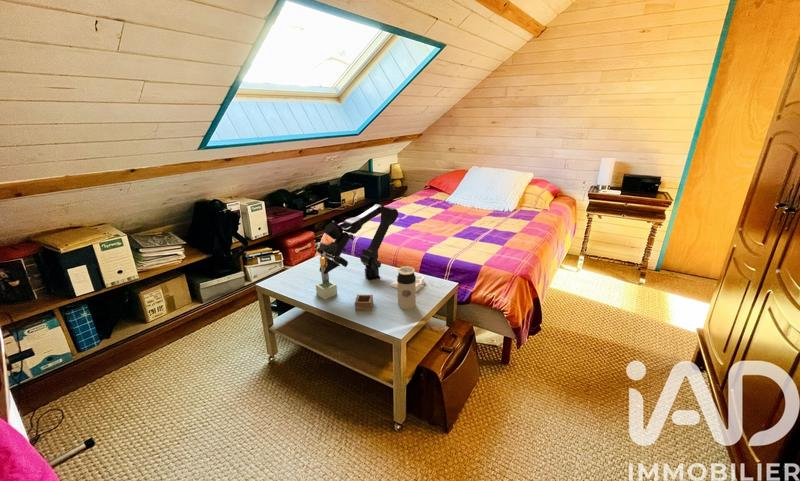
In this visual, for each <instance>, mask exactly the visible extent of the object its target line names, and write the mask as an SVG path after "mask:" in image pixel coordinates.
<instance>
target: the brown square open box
mask: <svg viewBox="0 0 800 481" xmlns="http://www.w3.org/2000/svg"><path fill="white" fill-rule="evenodd" d="M373 296H374V295H373V294H356V297H355V300H354V311H355V312H372V309H373V305H374V297H373Z"/></svg>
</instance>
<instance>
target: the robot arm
mask: <svg viewBox="0 0 800 481" xmlns="http://www.w3.org/2000/svg"><path fill="white" fill-rule="evenodd" d="M378 215H380V223H379V225H378V227H377V229H376V231H375V233H374V236H373V238H372V240H371V241H370V244H369V246H368V247H367V248H363V249H362V252H361V254H360V258H359V259H360V262H361V263H362V264H363V265H364V267H365V268H364V277H365V278H366V279H367V280H368V281H371V280H376V279H380V278H381V276H380V272H379V271H380V268H381V267H382V262H380V261H379V260H378V259H379V249H380V247H381V245H382V244H383V241H384V238H385V236H386V234H387V232H388V230H389V228H390V226H391V225H393V224H394V223H395V222H396V220H397V218H398V217H399V211H398V209H396V208H393V207H390V206H384V205H383V204H379V203H375V204H373V206H372V207H369V209H367V210H365V211H364V212H363V213H361V214H359V215H357V216H355V217H349V218H347V219H345V220H344V221H343V222H341V223H339V224H338V223H337V222H336V221H334V220H332V221H331V222H329V223H328V224H326V225H325V227H324V229H323V233H324V234H325V235H327V236H328V237H329V238H331V239H332V240H334V241H331V242H330V243H326V242H320V243H319V246H318V247H317V248H316V250H315V251H316V252H317V253H319V255H320V257H327V267H326V269H325V271H324V274H327V273H328V274H329V273H330V272H331V271H333V270H334V269H336V268H338V267H340V266H342V267H345V268H347V266H348V265H349V261H348V260H346V259H345V258H344V257H342V256H341V255H342V253H343V252H344V253H345V251H346V249H345V248H346V246H347V245H348V244H349V241H350V240H351V241H355V239H354V238H355V237H354V235H355V234H357V233H358V232H359V231H360V230H361V229H362V227H363V226H364V225H365V224H366V223H368V222H370V221H371V220H373V219H374V218H375V217H377V216H378ZM319 272H320V273H321V267H320V266H319Z"/></svg>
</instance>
